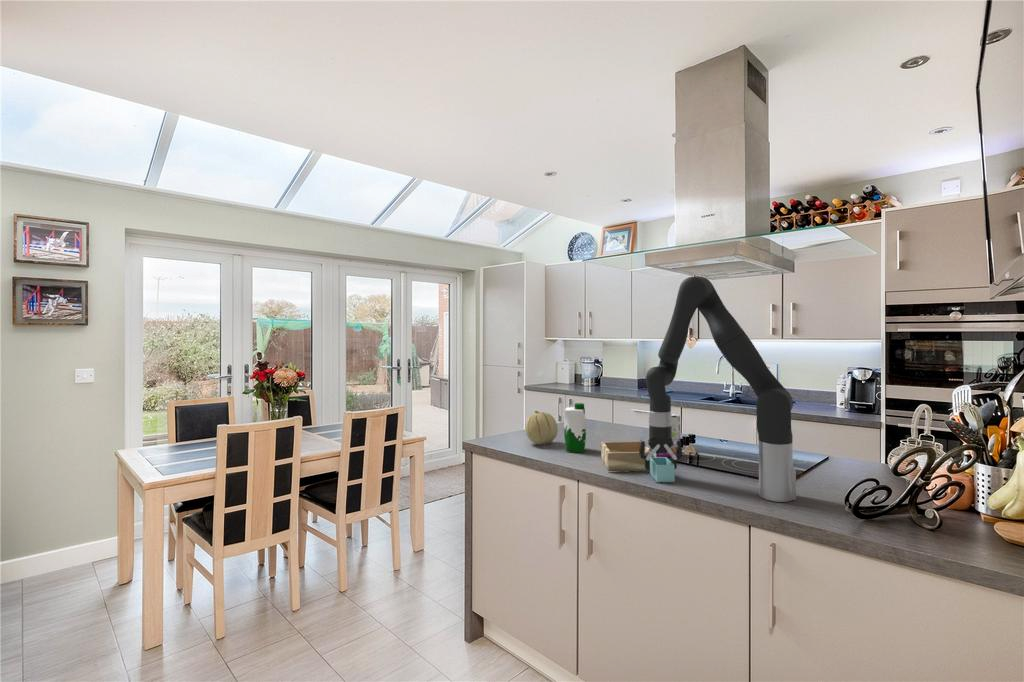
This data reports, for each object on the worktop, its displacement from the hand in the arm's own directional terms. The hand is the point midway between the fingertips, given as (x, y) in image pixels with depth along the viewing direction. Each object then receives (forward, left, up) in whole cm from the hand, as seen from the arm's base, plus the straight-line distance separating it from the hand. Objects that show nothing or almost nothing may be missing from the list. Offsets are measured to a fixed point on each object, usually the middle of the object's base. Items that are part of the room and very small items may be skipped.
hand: (660, 470), depth 179 cm
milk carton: (+26, -41, -3) cm, 48 cm away
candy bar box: (-9, -29, -3) cm, 31 cm away
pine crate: (+9, -17, -3) cm, 19 cm away
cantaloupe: (+40, -53, -3) cm, 66 cm away
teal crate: (0, 0, -3) cm, 3 cm away
